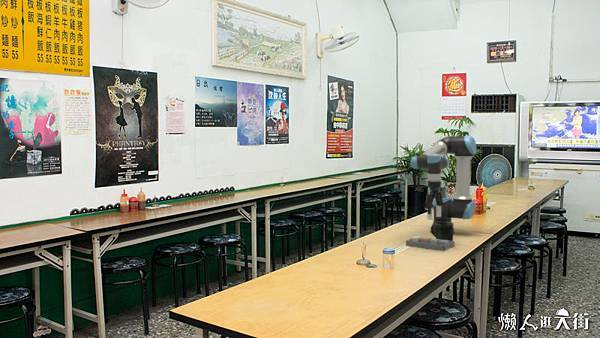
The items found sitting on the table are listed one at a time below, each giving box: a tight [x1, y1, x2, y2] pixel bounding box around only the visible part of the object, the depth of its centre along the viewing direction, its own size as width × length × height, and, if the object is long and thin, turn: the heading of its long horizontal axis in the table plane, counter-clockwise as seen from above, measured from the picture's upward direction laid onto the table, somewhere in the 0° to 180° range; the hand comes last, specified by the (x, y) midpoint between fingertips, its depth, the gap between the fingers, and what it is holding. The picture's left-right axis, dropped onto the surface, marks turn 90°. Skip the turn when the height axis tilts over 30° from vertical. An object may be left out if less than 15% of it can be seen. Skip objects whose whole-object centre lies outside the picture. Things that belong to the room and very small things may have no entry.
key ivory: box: [411, 235, 423, 241], centre depth 312 cm, size 4×4×2 cm
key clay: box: [420, 236, 432, 243], centre depth 309 cm, size 4×4×2 cm
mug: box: [430, 221, 455, 241], centre depth 321 cm, size 11×15×12 cm
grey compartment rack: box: [405, 236, 455, 252], centre depth 307 cm, size 14×24×4 cm, turn 50°
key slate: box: [439, 240, 449, 245], centre depth 301 cm, size 4×4×2 cm
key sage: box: [430, 238, 440, 244], centre depth 305 cm, size 4×4×2 cm
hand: (434, 218), depth 304 cm, fingers open, 11 cm apart
